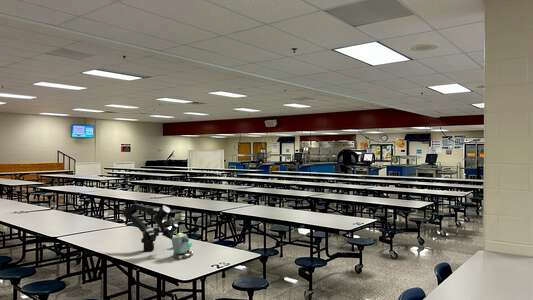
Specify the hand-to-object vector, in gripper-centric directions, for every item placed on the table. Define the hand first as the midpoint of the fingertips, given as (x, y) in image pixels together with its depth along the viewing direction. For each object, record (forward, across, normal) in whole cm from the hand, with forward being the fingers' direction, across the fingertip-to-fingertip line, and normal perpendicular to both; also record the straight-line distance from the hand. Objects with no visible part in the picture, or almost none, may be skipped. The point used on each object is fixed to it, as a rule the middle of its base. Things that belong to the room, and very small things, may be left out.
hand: (172, 239), depth 250 cm
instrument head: (+12, 0, -2) cm, 12 cm away
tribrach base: (+13, 0, +2) cm, 13 cm away
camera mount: (+2, +19, +13) cm, 23 cm away
